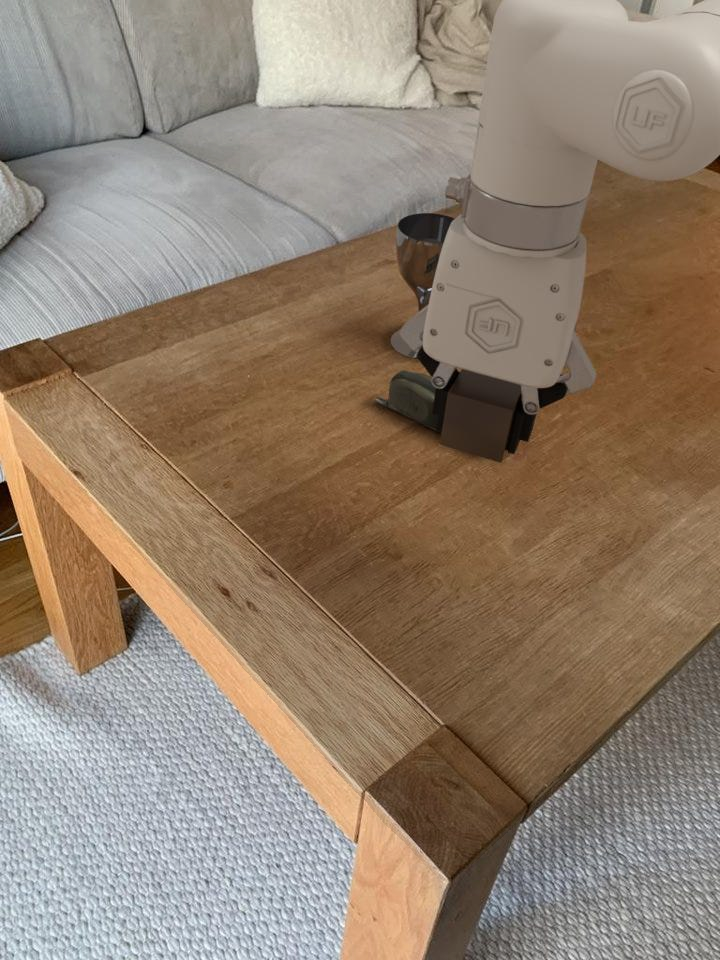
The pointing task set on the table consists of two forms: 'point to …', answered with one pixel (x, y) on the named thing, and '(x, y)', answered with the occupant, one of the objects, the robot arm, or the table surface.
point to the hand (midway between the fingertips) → (480, 431)
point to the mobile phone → (412, 397)
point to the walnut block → (480, 415)
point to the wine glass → (419, 259)
